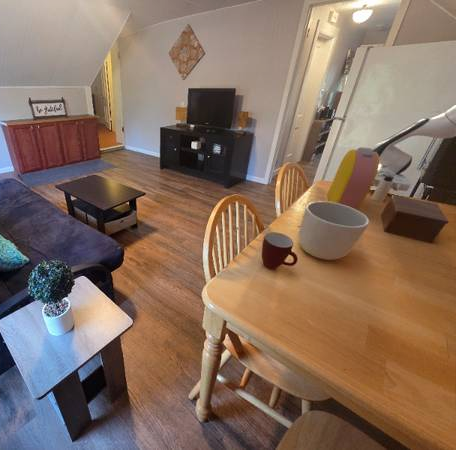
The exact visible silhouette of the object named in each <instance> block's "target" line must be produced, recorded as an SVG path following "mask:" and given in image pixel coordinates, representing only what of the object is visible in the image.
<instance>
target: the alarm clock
mask: <svg viewBox="0 0 456 450" xmlns="http://www.w3.org/2000/svg"><path fill="white" fill-rule="evenodd" d="M371 148H372V147H363V146H361V147H358V148H357V149H349V150H348V151H347V152H346V154H345V155H344V156H343V157H342V160H341V162H340V164H339V165H338V167H337V170H336V172H335V175H334V177H333V180H332V183H331V185H330V188H329V190H328V191H327V199H328V202H333V203H338V204H342V205H346V206H349V207H351V208H354V209H356V210H358V211H360V209H361V208H362V205H363V203H364V202H365V200H366V198H367V196H368V194H369V192H370V190H371V188H372V187H373V186H372V184H373V182H374V180H375V177H376V174H377V171H378V167H379V164H380V163H379V155H378V153H376V152H373V151H372V150H371Z"/></svg>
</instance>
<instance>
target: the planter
mask: <svg viewBox="0 0 456 450" xmlns="http://www.w3.org/2000/svg"><path fill="white" fill-rule="evenodd" d="M303 215H304V216H302V220H301V223H300V226H301V227H299V230H298V242H299V245H300V246H301V248H302V249H303V250H304V251H305V253H307V254H309V255H311V256H312V257H314V258H317V259H321V260H325V261H326V260H327V261H333V260H334V261H335V260H338V259H341V258H344V257H345V256H347V255H348V254H349V253H351V251H352V250H353V248H354V247H355V245H356V244H357V243H358V241H359V240H360V238H361V237H362V235H363V234H364V233H365V231H366V230H367V228H368V226H369V225H370V219H369V217H368V216H367V215H366V214H364V213H363V212H362V211H360V210H359V211H358V210H356V209H354V208H351V207H349V206H346V205H342V204H338V203H333V202H329V201H323V200H322V201H321V200H318V201H311V202H309V203H308V204H307V205H306V206H305V208H304V213H303Z"/></svg>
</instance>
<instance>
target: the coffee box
mask: <svg viewBox="0 0 456 450" xmlns="http://www.w3.org/2000/svg"><path fill="white" fill-rule="evenodd" d="M380 219H381V224H382V228H383V232H384V233H387V234H391V235H395V236H399V237H403V238H409V239H411V240H416V241H420V242H423V243H428V244H432V243H433V242H434V240H435V239H436V238H437V237H438V235H439V234H440V233H441V231H442V230H443V229H444V227H445V226H446V224H445V223H441V222H436V221H431V220H427V219H422V218H417V217H413V216H408V215H404V214H399V213H396V210H395V207H394V204H393V201H392V198H391V197H390V198H389V200H388V202H387V204H386V206H385V207H384V209H383V211H382V212H381V214H380Z"/></svg>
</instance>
